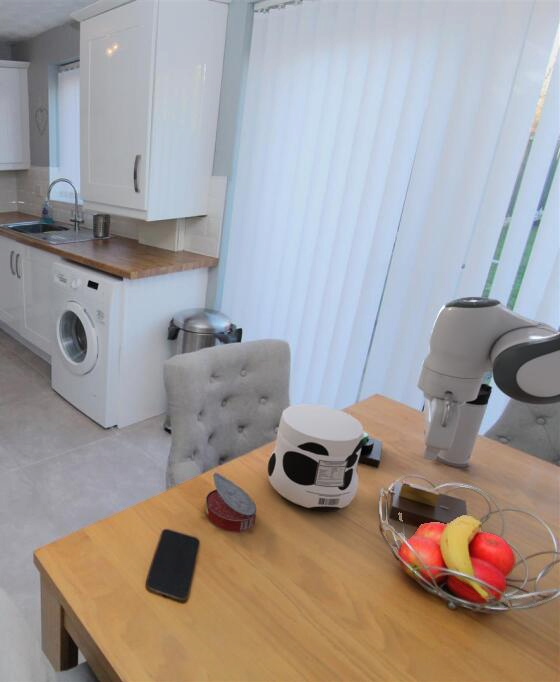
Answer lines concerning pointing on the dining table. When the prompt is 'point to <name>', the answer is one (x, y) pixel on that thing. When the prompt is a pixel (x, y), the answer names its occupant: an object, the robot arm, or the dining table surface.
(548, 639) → the dining table surface
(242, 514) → the canned food
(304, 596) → the dining table surface
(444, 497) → the lock plate
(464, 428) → the travel mug
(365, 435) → the alarm button
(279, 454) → the milk container
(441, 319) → the robot arm
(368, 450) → the alarm box
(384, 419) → the dining table surface
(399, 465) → the dining table surface
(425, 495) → the lock knob
